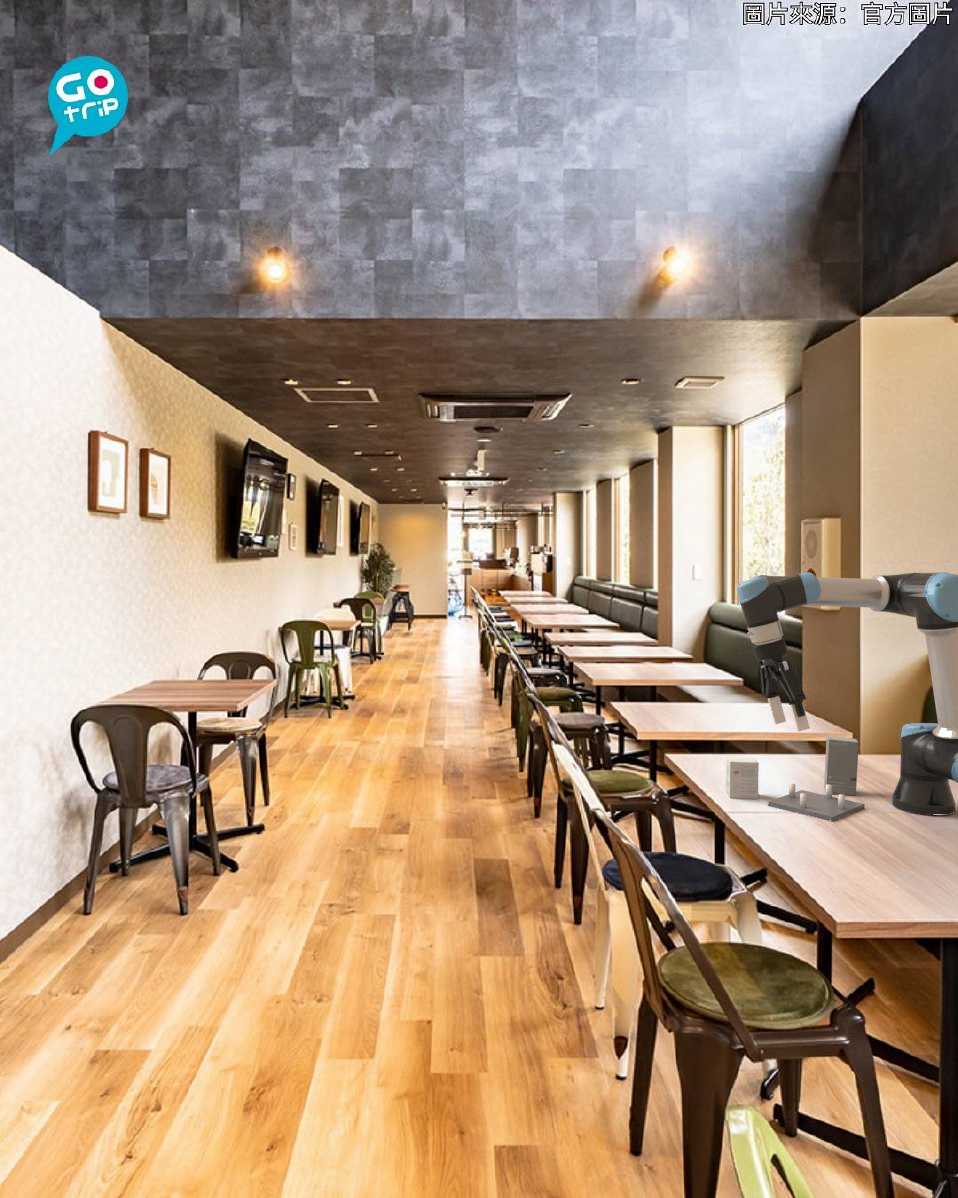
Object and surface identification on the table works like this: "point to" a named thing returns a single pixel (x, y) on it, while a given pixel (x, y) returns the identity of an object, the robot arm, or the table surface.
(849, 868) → the table surface
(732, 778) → the small box
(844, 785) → the skincare box
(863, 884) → the table surface
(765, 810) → the table surface
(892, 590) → the robot arm
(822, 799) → the pin tray
